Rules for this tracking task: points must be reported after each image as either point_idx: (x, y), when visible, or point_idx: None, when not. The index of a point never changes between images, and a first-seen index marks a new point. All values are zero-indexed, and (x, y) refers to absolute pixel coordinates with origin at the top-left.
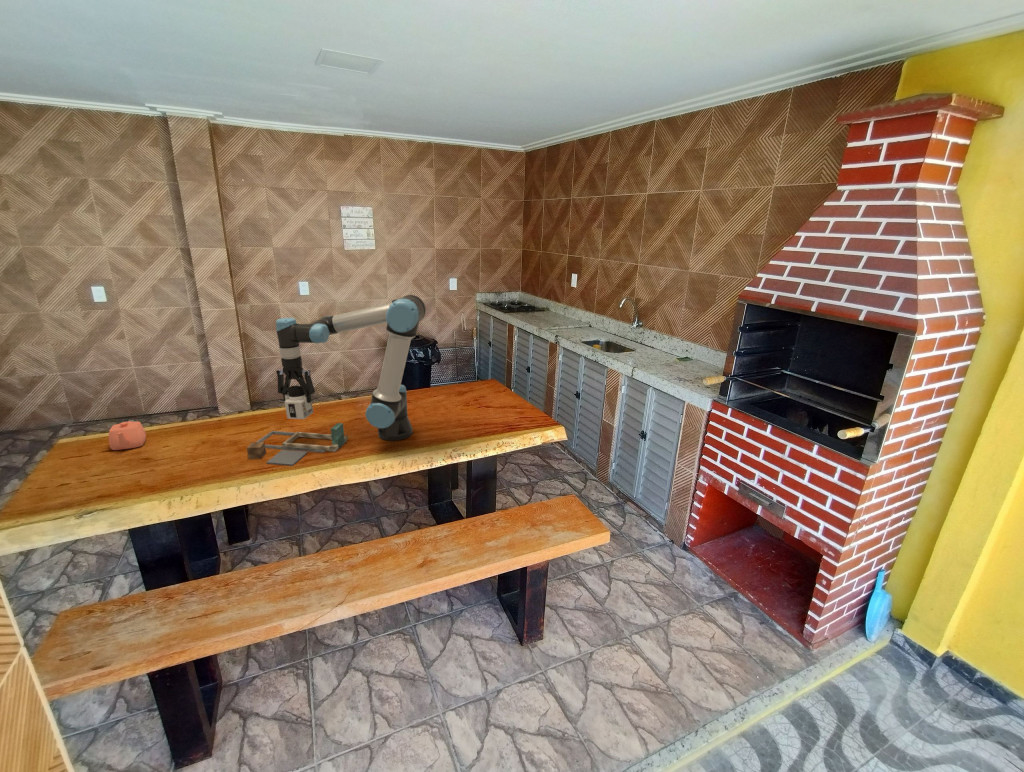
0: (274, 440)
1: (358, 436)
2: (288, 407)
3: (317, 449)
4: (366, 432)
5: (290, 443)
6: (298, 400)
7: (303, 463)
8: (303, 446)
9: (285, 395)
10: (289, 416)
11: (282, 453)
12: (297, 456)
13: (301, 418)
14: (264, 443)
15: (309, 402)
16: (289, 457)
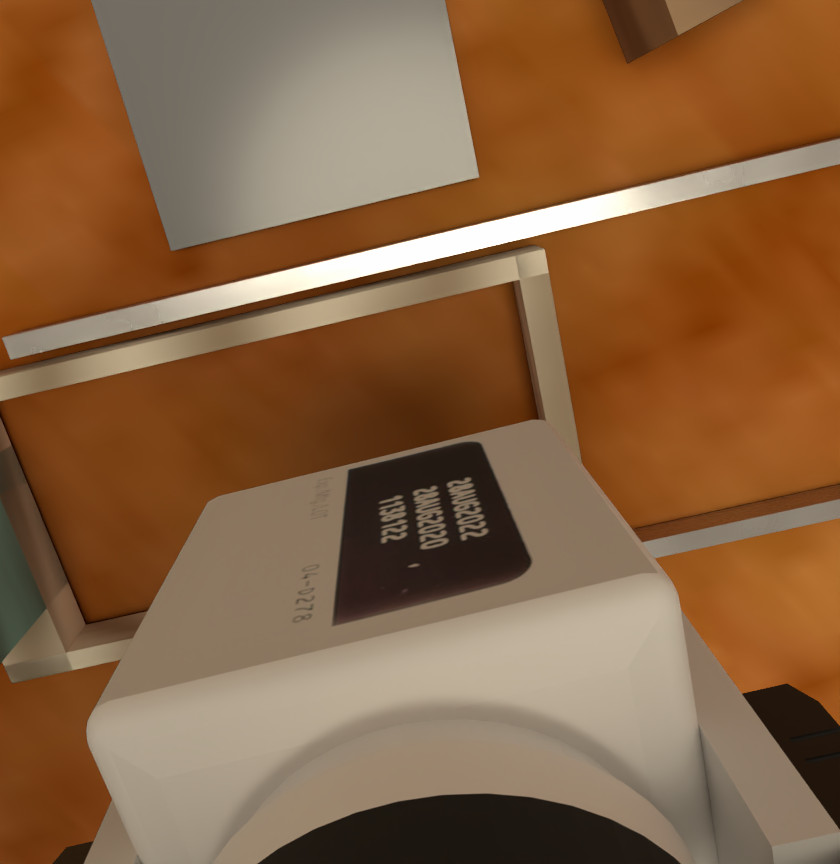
0: (759, 359)
1: (17, 753)
2: (521, 524)
3: (81, 322)
4: (19, 842)
5: (442, 282)
6: (255, 779)
7: (4, 12)
8: (273, 309)
9: (807, 832)
10: (496, 440)
11: (404, 97)
12: (177, 103)
13: (254, 489)
14: (669, 37)
15: (58, 857)
16: (243, 41)
